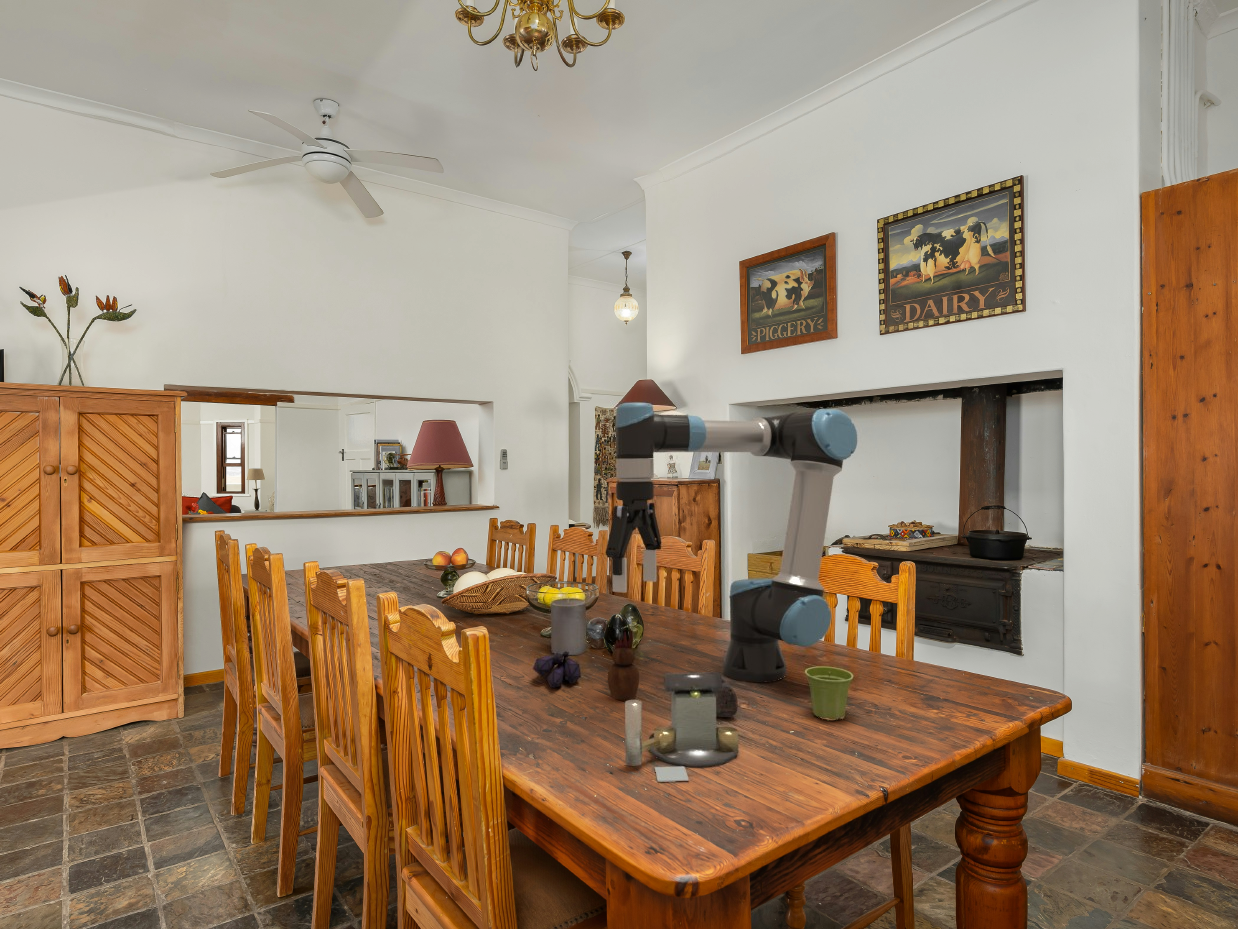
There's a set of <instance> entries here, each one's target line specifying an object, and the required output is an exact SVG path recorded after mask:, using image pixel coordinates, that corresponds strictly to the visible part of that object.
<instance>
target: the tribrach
mask: <svg viewBox="0 0 1238 929" xmlns="http://www.w3.org/2000/svg"><path fill="white" fill-rule="evenodd" d="M663 676H664V677H663V678H664V679H663V681H664V692H665V693H670V696H671V697H670V700H671V701H670V702H671V704H670V707H671V708H670V709H671V710H670V712H671V714H670V715H671V716H670V717H671V718H670V719H671V720H670V721H671V722H670V724H671V725H669V726H668V727H670V728H673V729H674V730H675V749H674V750H673V751H670V752H660V751H657V750H655V749H654V748H651V749H648V751H649V752H650V753H652V754H651V755H652V756H653V755H654V756H653V757H655V758H656V757H657V758H656V759H658V760H659V759H660V761H661V760H662V761H661V762H664V763H666V762H667V764H669V763H670V765H675V766H677V765H678V766H677V767H680V766H684V767H685V768H712V767H717V765H718V766H720V765H721V764H722V765H724V764H727V763H730V762H731V761H733V760H734V759H735V758H736V757H737V755H738V754H739V730H738V729H737V728H736V727H730V726H721V727H719V728H718V727H717V716H716V696H715V695H714V693H713V691H722V678H723V676H722V673H721V672H720V671H718V672H673V673H672V672H671V673H670V672H668V673H664V675H663ZM652 738H654V732H653V733H652V734H650V736H649V738H648V740H649V739H652Z"/></svg>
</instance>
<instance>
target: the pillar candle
mask: <svg viewBox="0 0 1238 929" xmlns="http://www.w3.org/2000/svg"><path fill="white" fill-rule="evenodd" d="M586 602H587V601H586V600H584V599H583V598H573V597H572V598H570V596H568V598H558V599H553V600H552V601H551V602H550V619H551V620H550V631H551V632H550V634H551V638H550V639H551V641H550V644H551V650H550V651H551V653H552V654H553V653H554V654H553V655H555V654H556V653H560V654H563V652H565V651H567V652H569V656H578V655H583V654H584V653H586V652H587V645H588V644H587V613H586V612H587V611H586V610H587V609H586V607H587V605H586Z"/></svg>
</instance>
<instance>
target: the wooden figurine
mask: <svg viewBox="0 0 1238 929" xmlns="http://www.w3.org/2000/svg"><path fill="white" fill-rule="evenodd" d="M633 630H634V629H631V631H630V633H629V638H627V633H626V631H624V632H623V634H624V635H623V639H622V636H619V640H618V639H616V641H615V645H614V647H615V648H613V649H612V650H613V651H612V655H611V656H612V662H613V663H612V664H611V665H610V667H609V669H608V672H607V686H608V689H609V692H610V695H611V696H612V697H613V698H614V699H616V700H618V701H622V700H626V701H628V700H634V698H635V697H636V696H637V694H638V693H637V692H638V689H639V684H640V672H639V668H638V666H637V665H635V664H633V663H634V662H635V658H636V657H635V650H634V649H633V634H634V633H633Z"/></svg>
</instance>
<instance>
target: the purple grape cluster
mask: <svg viewBox="0 0 1238 929" xmlns="http://www.w3.org/2000/svg"><path fill="white" fill-rule="evenodd" d="M532 670H534V672H535V673H536V674H538V675H539V676H540V677H542V678H543V677H544V676H546V675H547V674H548V676H547V677H546V680H547V682H548V685H549V686H550V688H551V689H554V688H557V687H561V686H562V685H563V684H562V683H563V680H564V679H565V681H568V682H569V683H570V684H571V685H572V684H573V685H574V684H575V683H576V682H578V681H579V679H580V678H582V673H581V668H580V663H578V662H577V661H575V660H573V659H572V658H570V655H569V652H567V651H565V652H563V654H560V653H556V654H553V653H552V654H549V655H546V656H543V657H537V658H536V660H535V663H534V664H533V666H532ZM549 673H550V674H549Z"/></svg>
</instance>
